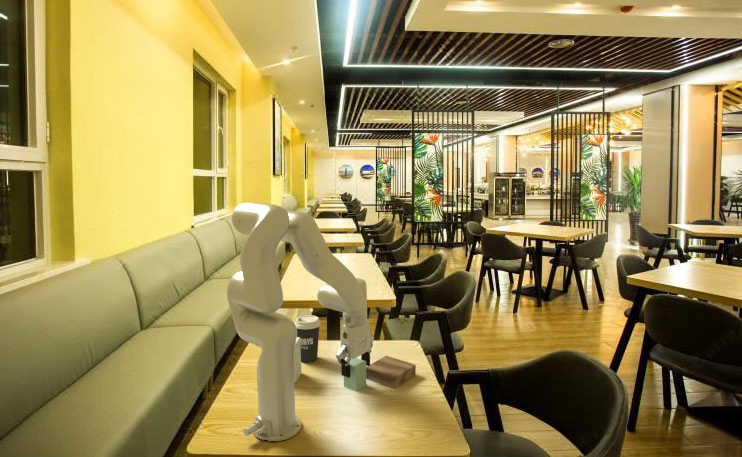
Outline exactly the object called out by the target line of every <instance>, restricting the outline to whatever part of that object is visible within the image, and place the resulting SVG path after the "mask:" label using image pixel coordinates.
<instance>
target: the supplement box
mask: <svg viewBox="0 0 742 457" xmlns="http://www.w3.org/2000/svg"><path fill="white" fill-rule="evenodd" d="M301 375H302V362H301V347H300V337H297V338H296V344H295V350H294V384H295V383H297V382H298V380H299V378H300V376H301Z"/></svg>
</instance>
